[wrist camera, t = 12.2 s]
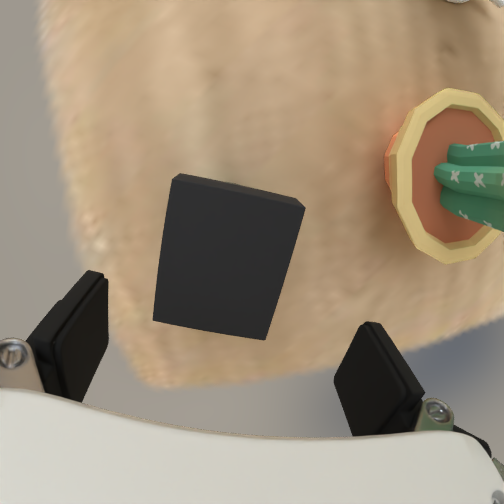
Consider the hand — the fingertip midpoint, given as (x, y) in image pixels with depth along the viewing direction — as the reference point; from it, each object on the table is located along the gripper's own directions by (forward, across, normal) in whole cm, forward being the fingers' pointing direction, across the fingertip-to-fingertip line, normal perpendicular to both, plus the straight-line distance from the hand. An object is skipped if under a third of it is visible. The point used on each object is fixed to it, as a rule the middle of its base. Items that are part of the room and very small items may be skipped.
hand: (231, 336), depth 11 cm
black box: (+10, 0, +1) cm, 10 cm away
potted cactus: (+20, -18, -9) cm, 28 cm away
